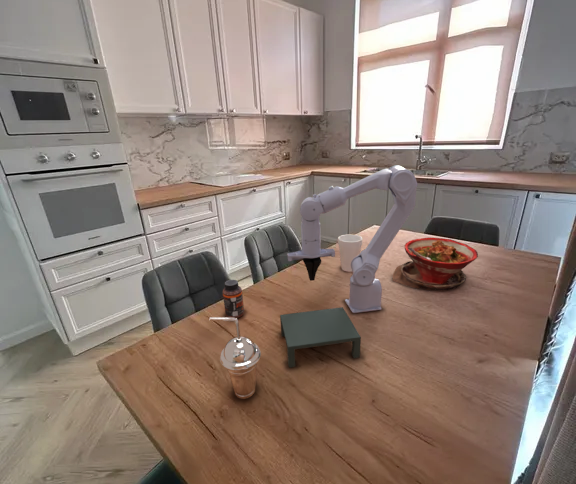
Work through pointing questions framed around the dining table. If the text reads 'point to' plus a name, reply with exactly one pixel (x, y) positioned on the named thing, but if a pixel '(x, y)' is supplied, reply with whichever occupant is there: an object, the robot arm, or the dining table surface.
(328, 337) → the bench
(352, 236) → the foam cup
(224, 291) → the supplement bottle
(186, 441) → the dining table surface
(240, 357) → the cup with straw
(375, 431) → the dining table surface
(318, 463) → the dining table surface
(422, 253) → the stew
